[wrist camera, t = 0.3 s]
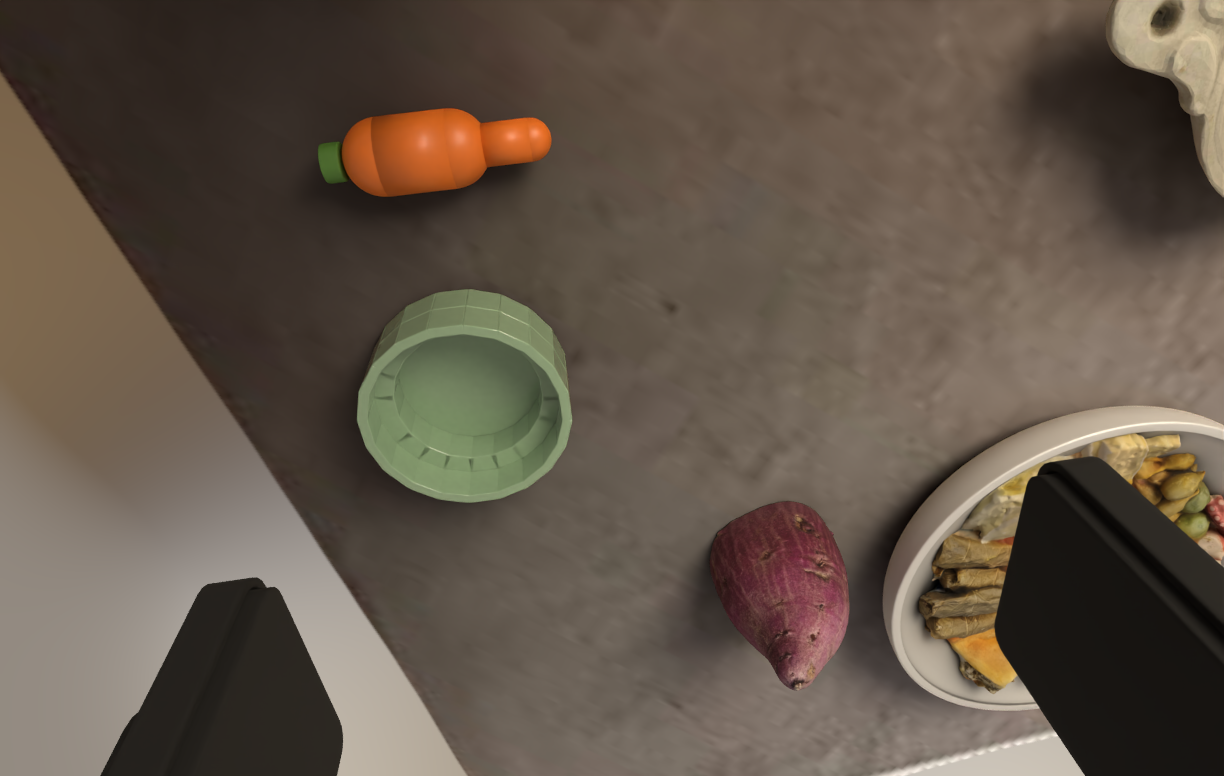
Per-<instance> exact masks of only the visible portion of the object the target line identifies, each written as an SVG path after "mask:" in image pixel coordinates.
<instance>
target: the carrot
mask: <svg viewBox="0 0 1224 776" xmlns="http://www.w3.org/2000/svg"><path fill="white" fill-rule="evenodd" d="M550 147H551V134H550V131H549V129H548V128H547V126H546V125H545V124H544V123H543V122H542V121H540V120H538V119H536V118H520V119H511V120H503V121H494V122H486V123H480V122H479V121H478V120H477V119H476V118H475V117H473V116H472V115H470V114H469V113H467V112H465V111H462V110H459V109H454V108H443V109H434V110H426V111H417V112H408V113H400V114H391V115H382V116H374V117H369V118H366V119H364V120H361V121H359V122H358V123H356V124H355V125H354V126H353V127H352V128H351V129H350V130H349V131H348V133H347V135H346V137H345V139H344V141H343V145H342V144H341V143H340V142H331V143H322V144H320V145H319V147H318V160H319V165H320V169H321V172H322V175H323V177H324V179H325V180H326V182H327V183H330V184H332V183H340V182H347V181H348V180H349V177H350V179H351V180H352V181H353V182H354V183H355V184H356V185H357V186H358V187H359V188H360V189H362V190H364V191H365V192H367V193H369V194H372V195H375V196H381V197H391V196H400V195H408V194H417V193H425V192H433V191H442V190H450V189H459V188H463V187H467V186H469V185H471V184H473V183H474V182H476V181H477V180H478V179H479V178H480V177H481V176H482V175H483V174H484V172H485V170H486V169H487V167H493V166H501V165H510V164H518V163H527V162H534V161H538V160H540V159H542V158H543V157H545V155H546V154H547V153H548V151H549V149H550Z"/></svg>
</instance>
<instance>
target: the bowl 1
mask: <svg viewBox="0 0 1224 776" xmlns="http://www.w3.org/2000/svg"><path fill="white" fill-rule="evenodd" d="M357 422H358V425H359V429H360V432H361V435H362V438H363V441H364V444H365V447H366V448H367V450H368V451H369V452H370V454H371V455H372V456H373V458H374V459H375V460H376V461H377V463H378V464H379V465H380V467H381V468H382V469H383V470H384V471H385V472H386V473H388V474H389V475H390V476H392V477H393V478H395V479H396V480H397V481H399V482H400V483H402V484H403V485H404V486H406V487H407V488H409V489H411V490H414V491H417V492H419V493H422V494H425V495H427V496H430V497H433V498H436V499H439V500H447V501H456V502H466V503H469V502H470V503H473V502H480V501H488V500H495V499H500V498H503V497H506V496H508V495H511V494H513V493H516V492H518V491H521V490H523V489H525V488H528V487H529V486H531V485H532V484H533V483H534V482H536V481H537V480H538V479H539V478H541V477H542V476H543V475H544V474H546V473H547V472H548V471H550V469H551V468H552V467H553V465H554V464H555V462H556V461H557V459H558V458H559V456H560V455H561V453H562V452H563V450H564V449H565V447H566V446H567V441H568V437H569V433H570V429H571V424H572V410H571V400H570V390H569V380H568V372H567V365H566V358H565V353H564V351H563V349H562V347H561V345H560V343H559V342H558V340H557V338H556V336H555V334H554V332H553V330H552V329H551V327H549V326H548V325H547V324H546V323H545V322H544V321H543V320H542V319H541V318H540V317H539V316H538V315H537V314H536V313H534V312H533V311H532V310H531V309H530V308H528V307H526V306H524V305H522V304H520V303H518V302H516V301H514V300H512V299H510V298H508V297H506V296H504V295H500V294H497V293H491V292H484V291H478V290H472V289H469V290H468V289H463V290H455V291H447V292H439V293H434V294H432V295H430V296H428V297H426V298H423V299H421V300H419V301H417V302H414V303H412V304H410V305H408V306H406V307H405V308H404V309H403V310H402V311H401V312H400V313H399V314H398V315H397V316H396V317H394V318H393V319H392V320H391V321H390V322H389V323H388V324H387V325H386V327H385V328H384V330H383V332H382V334H381V336H380V338H379V340H378V342H377V344H376V346H375V348H374V351H373V353H372V356H371V359H370V362H369V364H368V367H367V370H366V373H365V375H364V378H363V381H362V384H361V386H360V389H359V392H358V407H357Z"/></svg>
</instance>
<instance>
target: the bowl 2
mask: <svg viewBox="0 0 1224 776" xmlns="http://www.w3.org/2000/svg"><path fill="white" fill-rule="evenodd" d="M1088 456H1094V457H1098V458H1100V459H1102V460H1103V461H1105V462H1106V463H1108V464H1109V465H1110V466H1111V467H1112V468H1113V469H1114V470H1115V471H1117V472H1118V473H1119V474H1120V475H1121V476H1122V477H1123V478H1124V479H1125V480H1127V481H1128V482H1129V483H1130V484H1131V485H1132V486H1133V487H1134V488H1136V489H1137V490H1138V491H1139V492H1140V493H1141V494H1142V495H1143V496H1144V497H1146V498H1147V499H1148V500H1149V501H1150V502H1151V503H1152V504H1153V505H1155V506H1156V507H1157V508H1158V509H1159V510H1160V511H1161V512H1162V513H1163V514H1165V515H1166V516H1167V517H1168V518H1169V519H1170V520H1171V521H1172V522H1174V523H1175V524H1176V525H1177V526H1178V527H1179V528H1180V529H1181V530H1182V531H1184V532H1185V533H1186V534H1187V535H1188V536H1189V537H1190V538H1191V539H1193V540H1194V541H1195V542H1196V543H1197V544H1198V545H1199V546H1200V547H1201V548H1203V549H1204V550H1205V551H1206V552H1207V553H1208V554H1209V555H1210V556H1212V557H1213V558H1214V559H1215V560H1216V561H1217V562H1218V563H1219V564H1221V565H1222V566H1223V567H1224V425H1222V424H1220V423H1218V422H1216V421H1213V420H1211V419H1208V418H1205V417H1203V416H1200V415H1197V414H1193V413H1190V412H1186V411H1181V410H1176V409H1170V408H1163V407H1154V406H1115V407H1106V408H1098V409H1092V410H1086V411H1081V412H1077V413H1072V414H1069V415H1065V416H1061V417H1058V418H1055V419H1052V420H1048V421H1045V422H1043V423H1040V424H1037V425H1035V426H1032V427H1030V428H1027V429H1025V430H1023V431H1020V432H1018V433H1016V434H1014V435H1012V436H1010V437H1008V438H1006V439H1004V440H1002V441H1000V442H999V443H997V444H995V445H993V446H992V447H990V448H988V449H987V450H985V451H983V452H982V453H980V454H979V455H977V456H976V457H974V458H973V459H971V460H970V461H969V462H967V463H966V464H965V465H963V466H962V467H961V468H959V469H958V470H957V471H956V472H954V473H953V474H952V475H951V476H950V477H949V478H947V479H946V480H945V481H944V482H943V483H942V484H941V485H940V486H939V487H938V488H937V489H936V490H935V491H934V492H933V493H932V494H931V495H930V496H929V497H928V498H927V499H926V501H925V502H924V503H923V504H922V505H921V506H920V508H919V509H918V510H917V512H916V513H915V514H914V516H913V517H912V519H911V520H910V522H909V523H908V524H907V526H906V528H905V529H904V531H903V533H902V534H901V536H900V538H899V540H898V542H897V544H896V546H895V549H894V551H893V553H892V556H891V559H890V562H889V564H888V568H887V572H886V576H885V581H884V588H883V615H884V622H885V627H886V631H887V634H888V637H889V640H890V643H891V645H892V648H893V650H894V652H895V654H896V656H897V658H898V660H899V662H900V663H901V665H902V667H903V668H904V670H905V671H906V672H907V674H908V675H909V676H910V677H911V678H912V679H913V680H914V681H915V682H916V683H917V684H918V685H920V686H921V687H922V688H924V689H925V690H927V691H928V692H930V693H931V694H933V695H935V696H937V697H939V698H941V699H944V700H946V701H949V702H952V703H955V704H958V705H962V706H966V707H971V708H977V709H984V710H998V711H1015V710H1029V709H1038V708H1039V706H1038V705H1037V703H1036V702H1035V700H1034V699H1033V697H1032V696H1031V695H1030V693H1029V692H1028V690H1027V689H1026V687H1025V686H1024V684H1023V683H1022V681H1021V680H1020V678H1019V677H1018V675H1017V674H1016V672H1015V671H1014V669H1013V668H1012V666H1011V665H1010V663H1009V662H1008V660H1007V659H1006V657H1005V656H1004V654H1003V653H1002V651H1001V649H1000V647H999V645H998V642H997V640H996V636H995V629H994V624H995V618H996V614H997V609H998V605H999V601H1000V596H1001V592H1002V588H1003V584H1004V579H1005V575H1006V571H1007V567H1008V562H1009V558H1010V554H1011V549H1012V545H1013V541H1014V537H1015V532H1016V528H1017V524H1018V520H1019V515H1020V511H1021V507H1022V503H1023V498H1024V494H1025V490H1026V486H1027V483H1028V481H1029V479H1030V478H1031V477H1034V476H1037V474H1038V472H1039V469H1040V468H1041V467H1042V466H1043V465H1044V464H1045V463H1049V462H1054V461H1061V460H1068V459H1075V458H1082V457H1088Z"/></svg>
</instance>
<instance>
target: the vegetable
mask: <svg viewBox="0 0 1224 776" xmlns="http://www.w3.org/2000/svg"><path fill="white" fill-rule="evenodd" d="M833 535H834V534H833V532H831V531H829V529H828V528H827V526H826V524H825V522H824V521H823V519H822V518H821V517H820V516H819V515H818V514H817V512H816V511H815V510H814V509H812V508H810V507H808V506H806V505H804V504H801V503H797V502H790V501H786V502H778V503H774V504H769V505H766V506H764V507H761V508H759V509H756V510H755V511H752V512H751V513H748V514H745V515H744V516H741V517H739V518H737V519H735V520H733V521H731V522H730V523H729V524H728V525H727V526H726V527H725V528H723V529H722V530H720V531H719V532H718V533H717V537H716V538H715V540H714V542H713V545H712V550H711V557H710V571H711V575H712V579H713V582H714V584H715V587H716V590H717V593H718V595H719V597H720V599H721V602H722V604H723V607H724V609H725V611H726V613H727V615H728V617H729V618H730V620H731V621H732V623H733V624H734V626H735V627H736V628H737V630H738V631H739V632H740V633H741V634H742V635H743V636H744V637H745V638H746V639H747V641H748V642H749V643H750V644H752V645H753V646H754V647H755V648H756V649H757V650H758V651H759V652H760V653H761V654H763V655H764V656H765V657H766V658H767V659H768V660H769V662H770V663H771V665H772V667H773V668H774V670H775V672H776V674H777V676H778V678H779V679H780V681H781V682H782V683H783V684H784V685H785V686H787V687H788V688H790V689H792V690H801V689H804V688H806V687H808V686H809V685H810V684H811V683H812V682H813V681H814V679H815V678H816V676H817V675H818V674H819V672H820V671H821V670H822V669H823V667H824V665H825V664H826V663H827V662H828V661H829V660H830V659H831V658H832V657H833V655H834V654H835V652H836V651H837V649H838V648H839V646H840V644H841V642H842V640H843V638H844V635H845V632H846V628H847V624H848V618H849V590H848V581H847V573H846V568H845V565H844V562H843V559H842V556H841V554H840V551H839V549H838V546H837V544H836V542H835V540H834V538H833Z"/></svg>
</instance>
